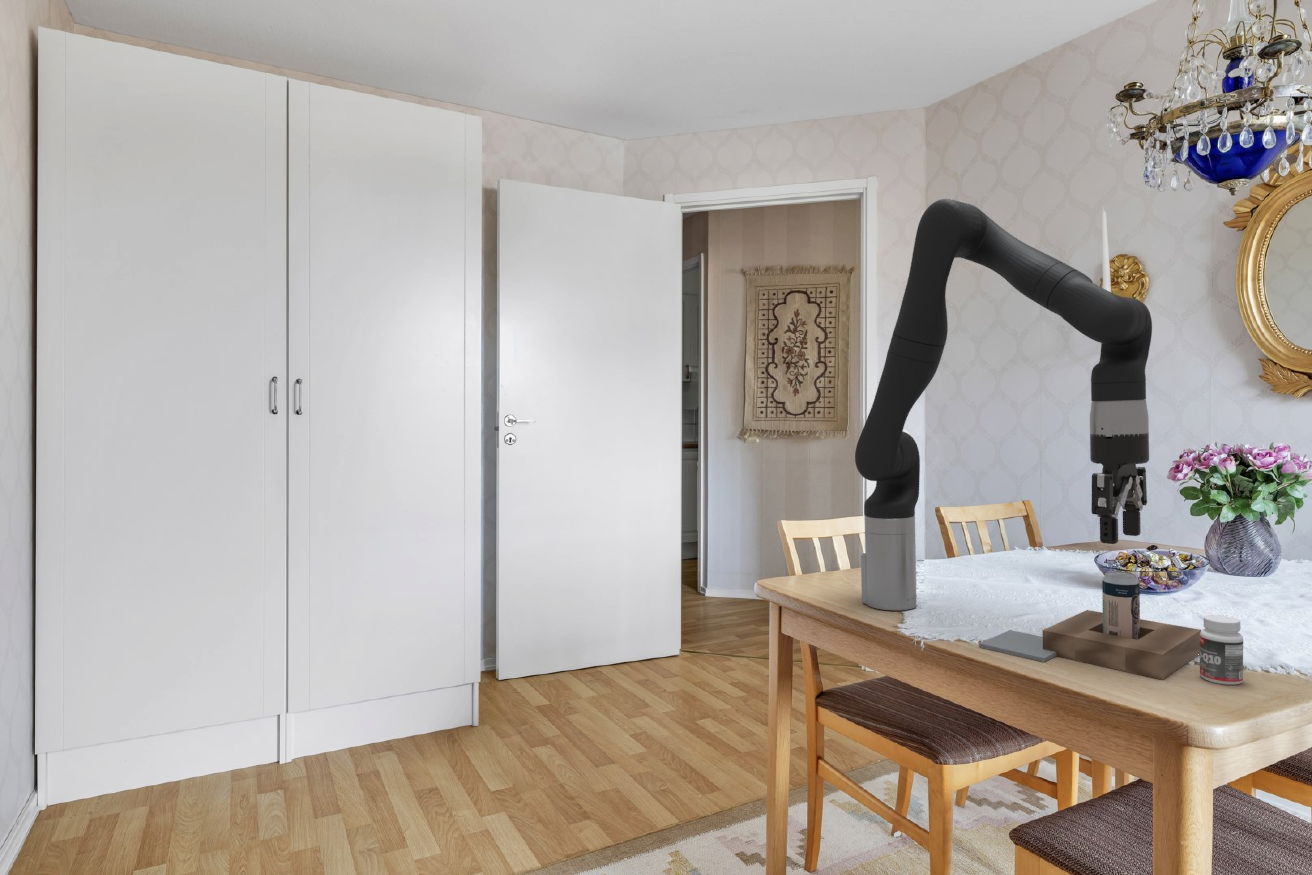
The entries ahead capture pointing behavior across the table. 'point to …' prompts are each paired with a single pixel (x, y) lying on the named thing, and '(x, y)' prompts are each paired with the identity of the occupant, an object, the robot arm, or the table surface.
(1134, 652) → the block
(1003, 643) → the mat
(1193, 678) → the table surface
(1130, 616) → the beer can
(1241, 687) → the table surface
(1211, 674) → the pill bottle
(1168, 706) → the table surface
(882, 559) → the robot arm
